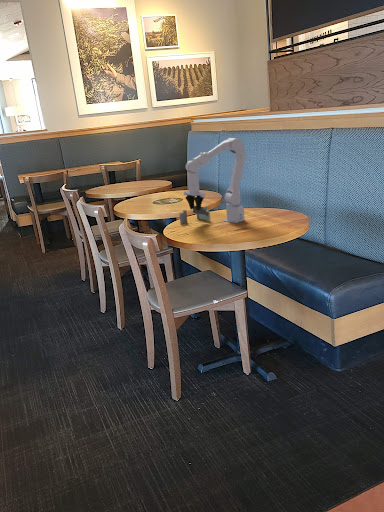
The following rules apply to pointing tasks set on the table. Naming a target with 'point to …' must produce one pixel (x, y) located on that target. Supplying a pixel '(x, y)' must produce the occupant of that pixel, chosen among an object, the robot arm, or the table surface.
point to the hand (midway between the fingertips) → (195, 209)
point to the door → (204, 216)
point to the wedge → (199, 211)
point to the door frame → (184, 215)
